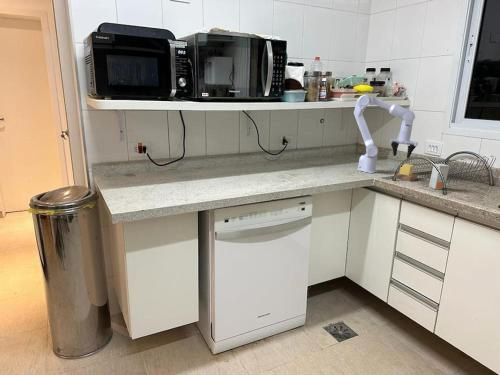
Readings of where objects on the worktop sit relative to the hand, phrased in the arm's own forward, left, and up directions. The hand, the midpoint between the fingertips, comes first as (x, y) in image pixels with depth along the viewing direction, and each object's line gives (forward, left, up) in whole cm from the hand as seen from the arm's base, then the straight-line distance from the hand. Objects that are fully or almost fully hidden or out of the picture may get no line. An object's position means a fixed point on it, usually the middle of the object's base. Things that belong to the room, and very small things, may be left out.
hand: (401, 156), depth 196 cm
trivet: (+7, -6, -10) cm, 13 cm away
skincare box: (+25, -12, -11) cm, 30 cm away
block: (+7, -6, -8) cm, 12 cm away
